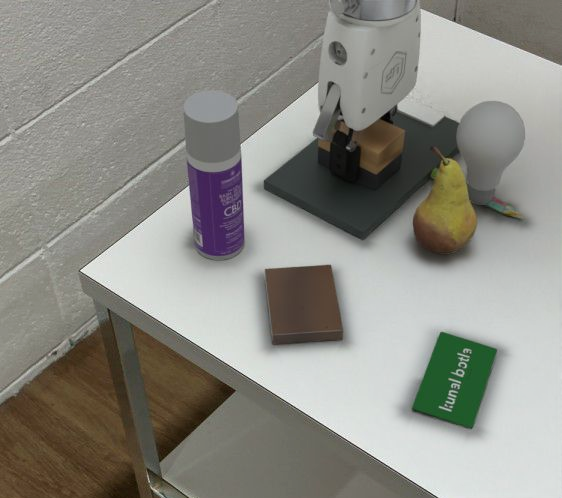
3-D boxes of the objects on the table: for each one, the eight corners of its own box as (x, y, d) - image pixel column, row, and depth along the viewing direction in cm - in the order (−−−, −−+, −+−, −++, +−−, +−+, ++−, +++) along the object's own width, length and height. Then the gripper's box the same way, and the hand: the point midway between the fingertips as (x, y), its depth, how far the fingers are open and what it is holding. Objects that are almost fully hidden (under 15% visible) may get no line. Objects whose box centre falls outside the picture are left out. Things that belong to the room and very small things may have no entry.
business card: (496, 351, 80) (439, 333, 81) (497, 349, 80) (440, 331, 80) (471, 429, 75) (411, 409, 76) (472, 427, 74) (411, 407, 75)
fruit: (466, 271, 86) (489, 165, 76) (404, 259, 87) (419, 153, 77) (475, 231, 89) (498, 124, 80) (415, 220, 90) (431, 113, 81)
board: (379, 95, 103) (380, 87, 102) (474, 137, 98) (475, 129, 97) (263, 188, 93) (263, 180, 92) (362, 240, 88) (363, 232, 88)
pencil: (526, 219, 91) (376, 143, 98) (529, 210, 90) (377, 134, 97) (519, 226, 90) (368, 149, 97) (522, 217, 89) (369, 140, 96)
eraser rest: (330, 273, 86) (331, 264, 85) (342, 339, 80) (343, 330, 80) (264, 278, 85) (264, 268, 84) (272, 344, 80) (272, 335, 79)
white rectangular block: (405, 99, 101) (405, 96, 101) (445, 116, 99) (445, 114, 99) (392, 109, 100) (393, 107, 99) (432, 127, 98) (433, 125, 97)
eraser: (344, 140, 96) (346, 103, 93) (400, 168, 93) (405, 130, 90) (317, 162, 94) (318, 124, 91) (374, 191, 91) (378, 153, 88)
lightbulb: (494, 175, 94) (511, 80, 85) (522, 214, 90) (543, 120, 82) (437, 189, 93) (449, 95, 84) (463, 230, 89) (478, 135, 81)
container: (234, 265, 86) (227, 128, 75) (186, 253, 87) (172, 116, 76) (251, 232, 89) (247, 95, 77) (205, 221, 90) (194, 84, 78)
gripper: (350, 46, 74) (339, 223, 88) (465, -38, 82) (437, 136, 96) (275, 14, 77) (276, 190, 91) (393, -64, 85) (377, 109, 99)
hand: (359, 161), depth 93 cm, fingers closed on eraser, 4 cm apart
